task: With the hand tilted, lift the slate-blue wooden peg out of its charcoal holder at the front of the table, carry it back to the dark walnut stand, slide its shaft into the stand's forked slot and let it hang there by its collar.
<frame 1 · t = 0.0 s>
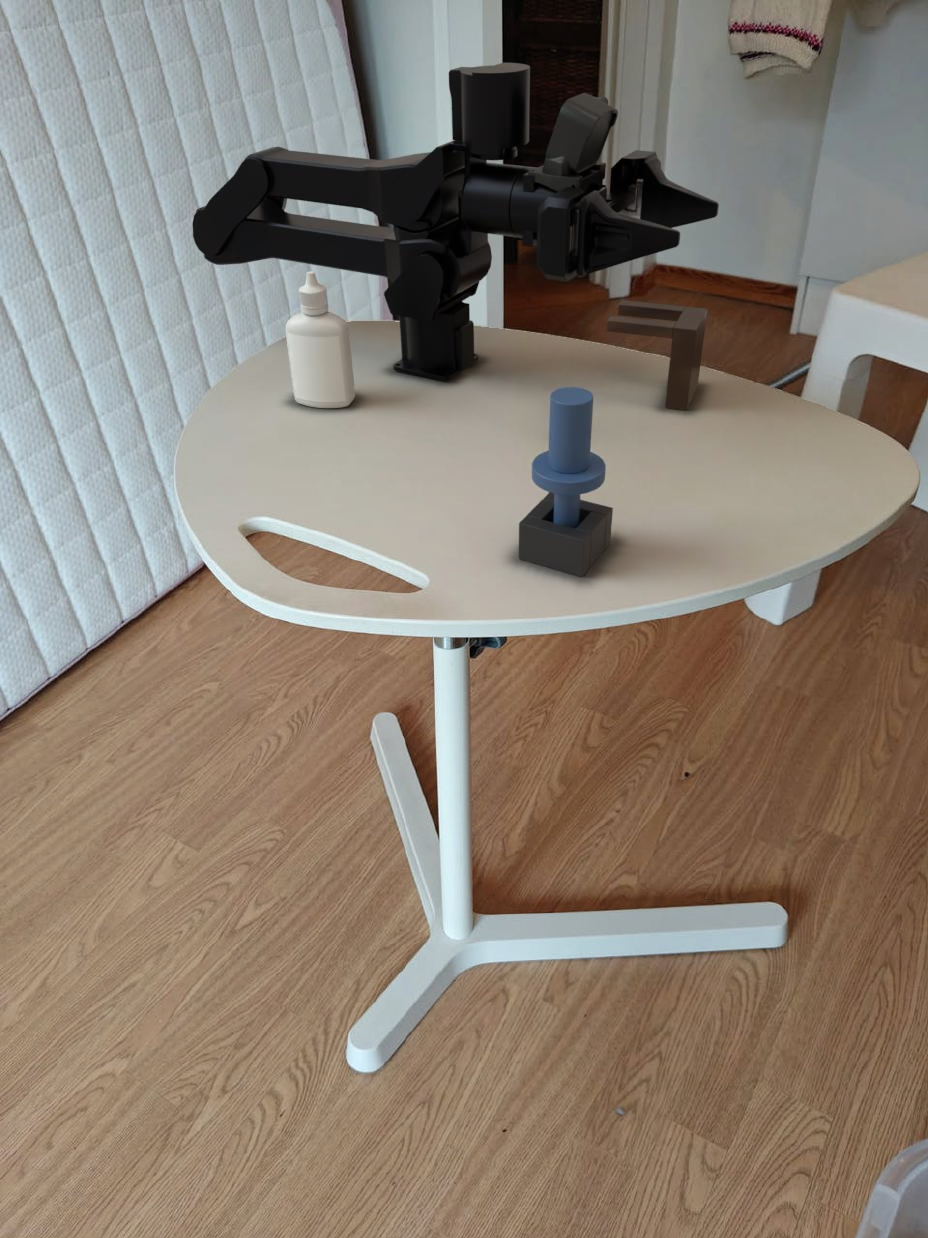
hand: (699, 223, 78), 17 cm above the table, tool horizontal, fingers open, 9 cm apart
peg: (568, 477, 67), in the holder
holder: (564, 550, 71), on the table
eye dropper bottle: (325, 402, 93), on the table
stand: (655, 393, 92), on the table
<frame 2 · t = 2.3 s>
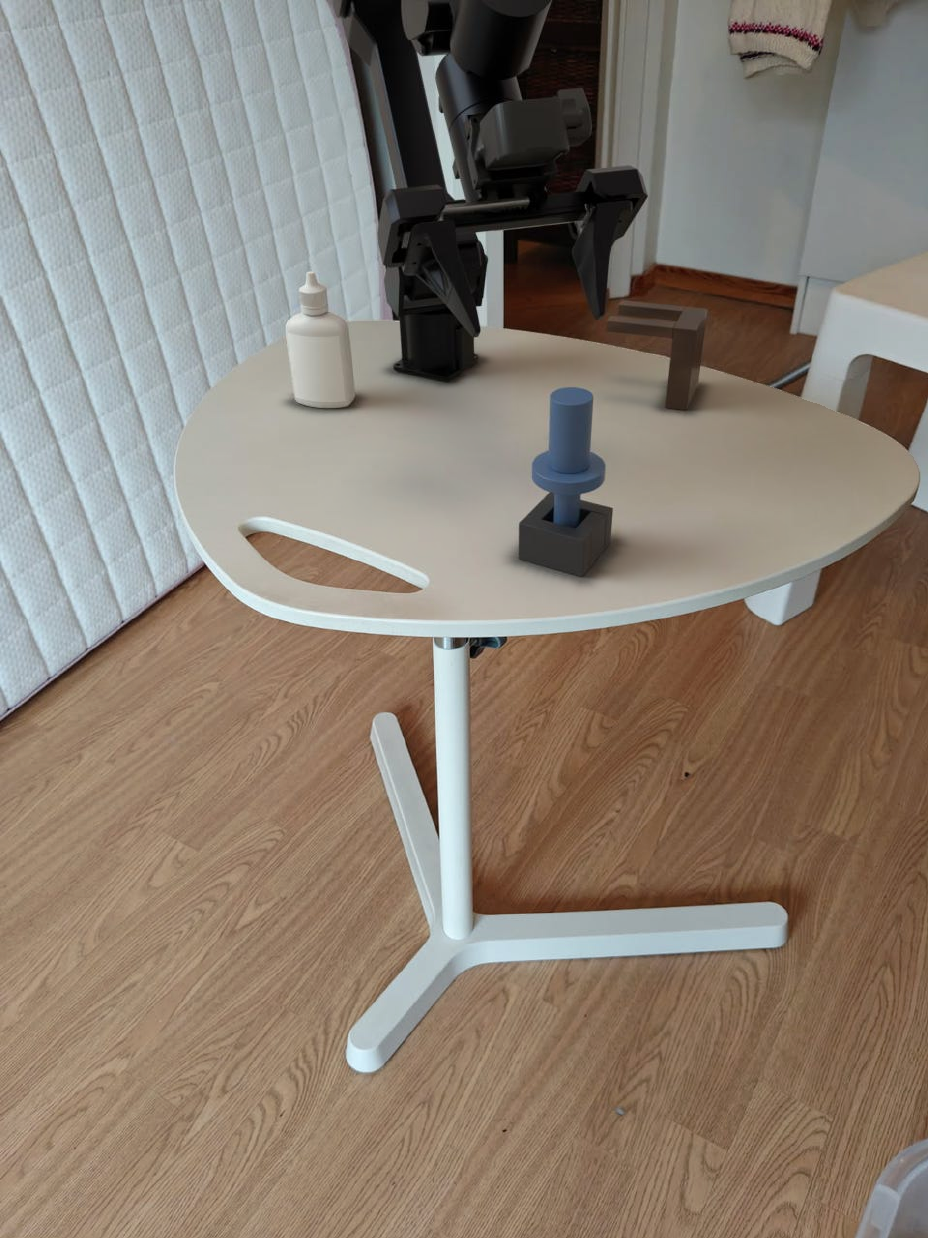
hand: (539, 326, 68), 14 cm above the table, tool tilted 45°, fingers open, 9 cm apart
nothing on the table moved.
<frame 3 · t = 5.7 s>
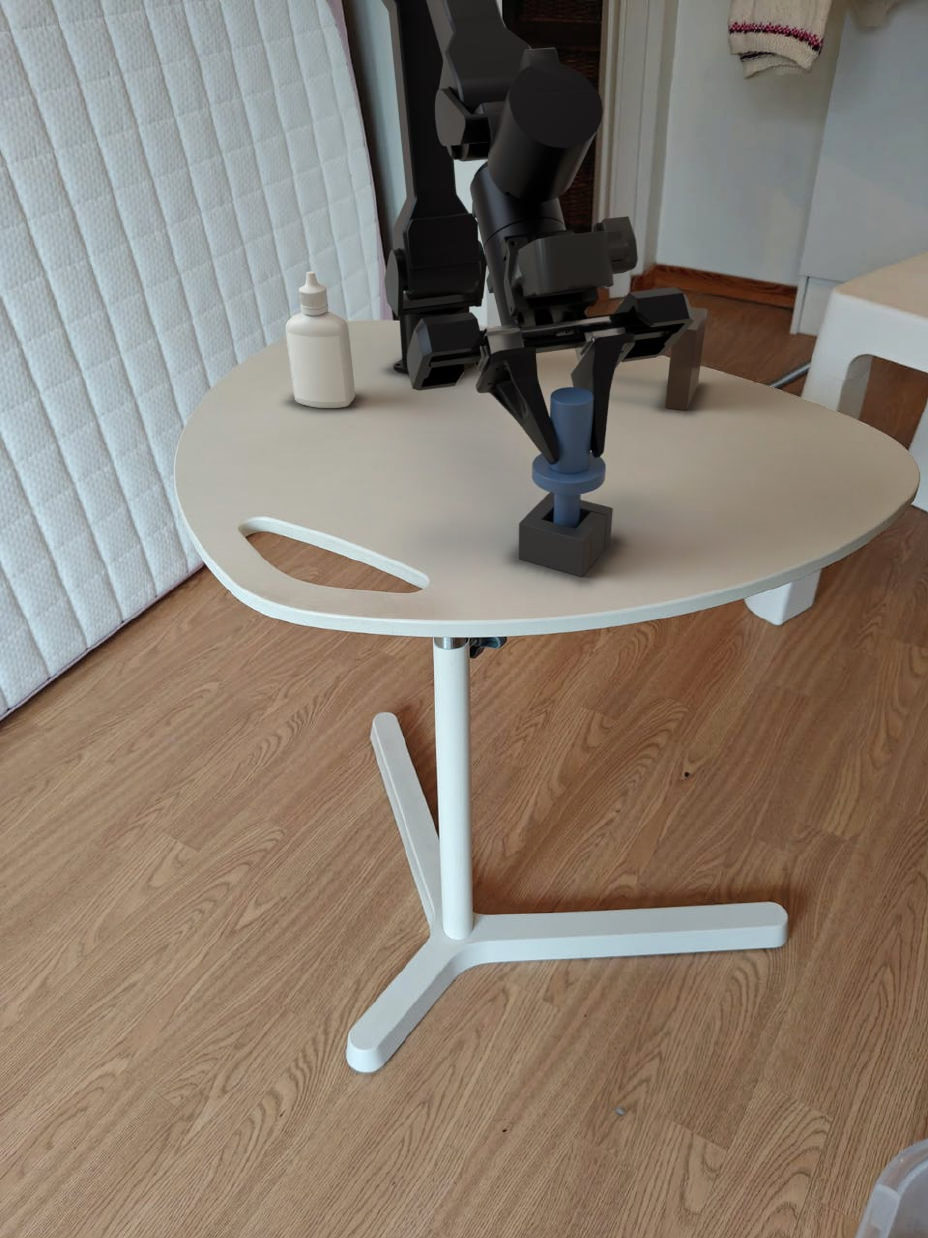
hand: (576, 459, 65), 8 cm above the table, tool tilted 45°, fingers closed on peg, 3 cm apart
peg: (568, 477, 67), in the holder, touching gripper
everything else where it was.
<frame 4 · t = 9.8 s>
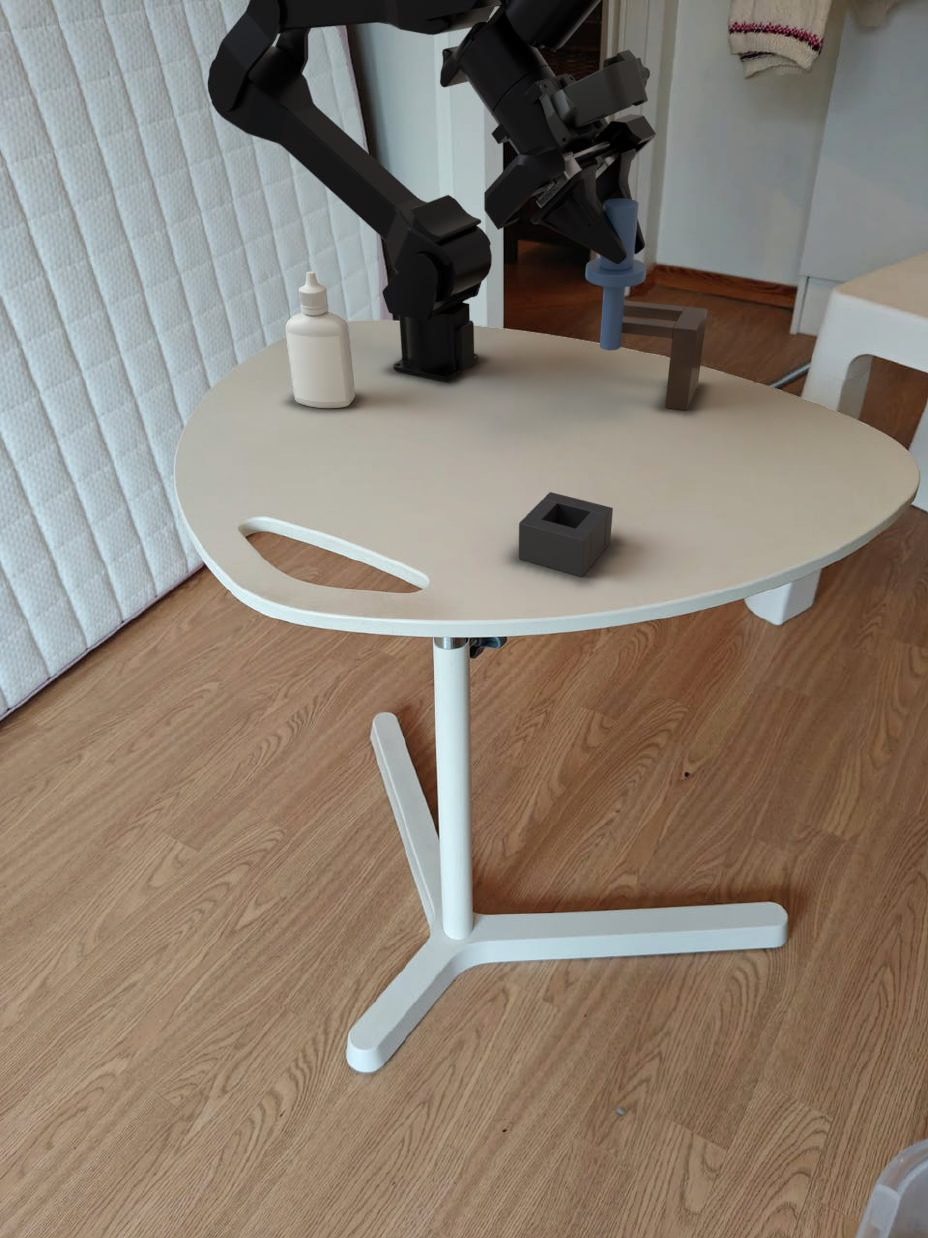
hand: (631, 255, 80), 14 cm above the table, tool tilted 45°, fingers closed on peg, 3 cm apart
peg: (615, 277, 82), point 12 cm above the table, touching gripper
everything else where it was.
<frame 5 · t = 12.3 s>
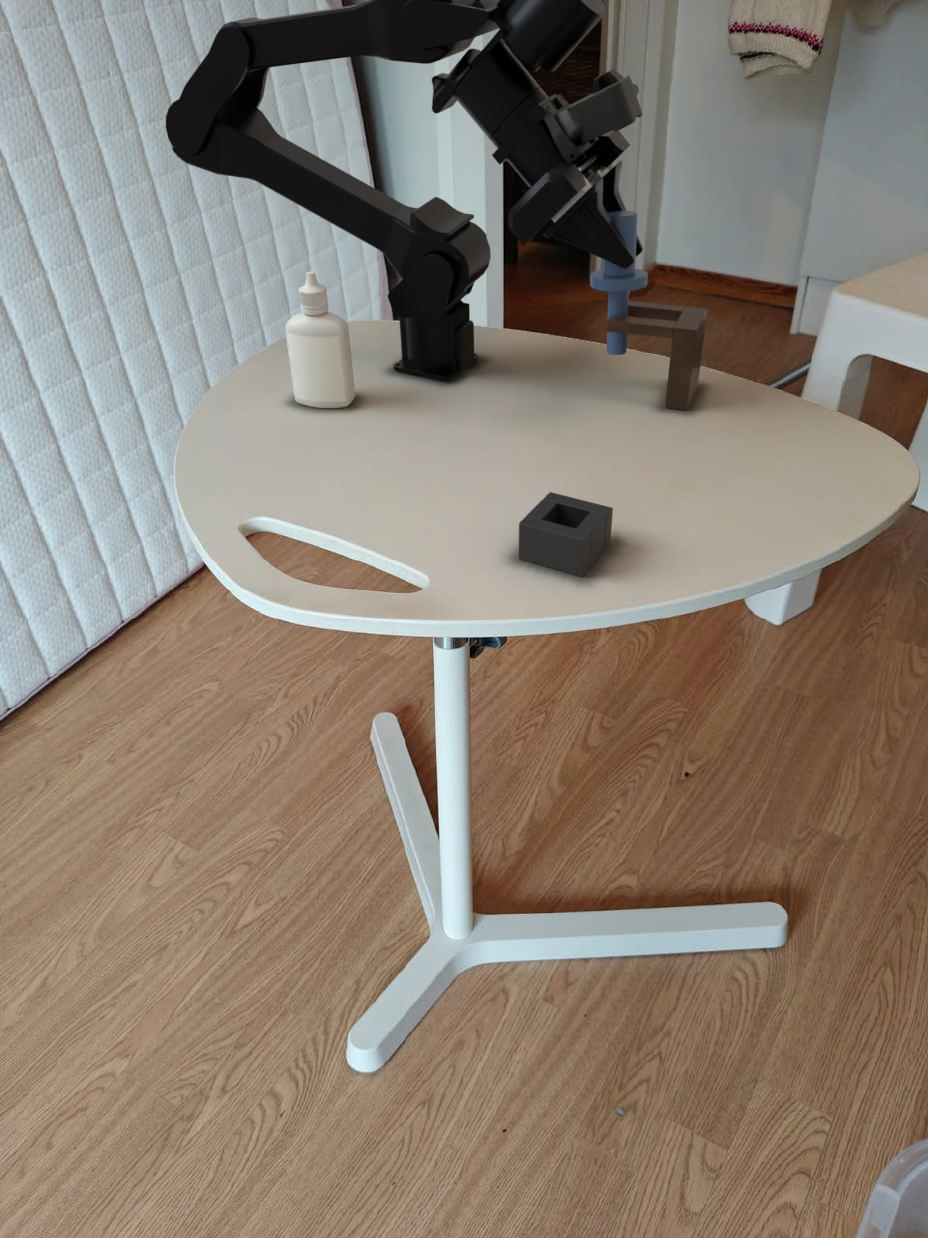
hand: (634, 259, 86), 12 cm above the table, tool tilted 45°, fingers closed on peg, 3 cm apart
peg: (618, 285, 87), point 10 cm above the table, tilted 6°, touching gripper
everything else where it was.
when the fingers open (10 cm above the table, at t = 14.4 s): peg stays where it is, resting on stand.
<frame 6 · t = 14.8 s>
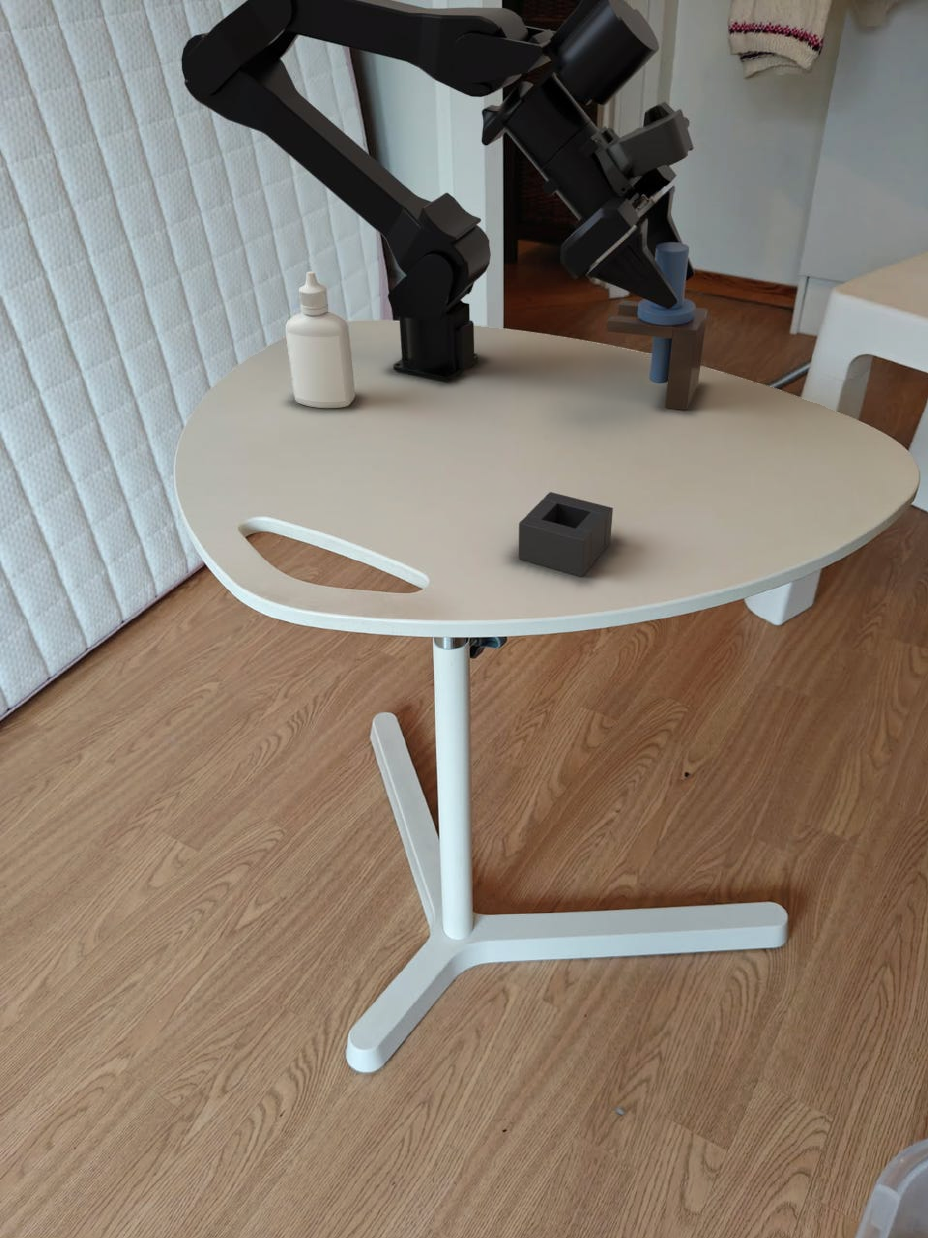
hand: (682, 290, 86), 10 cm above the table, tool tilted 45°, fingers open, 7 cm apart
peg: (665, 315, 87), point 8 cm above the table, touching stand
everything else where it was.
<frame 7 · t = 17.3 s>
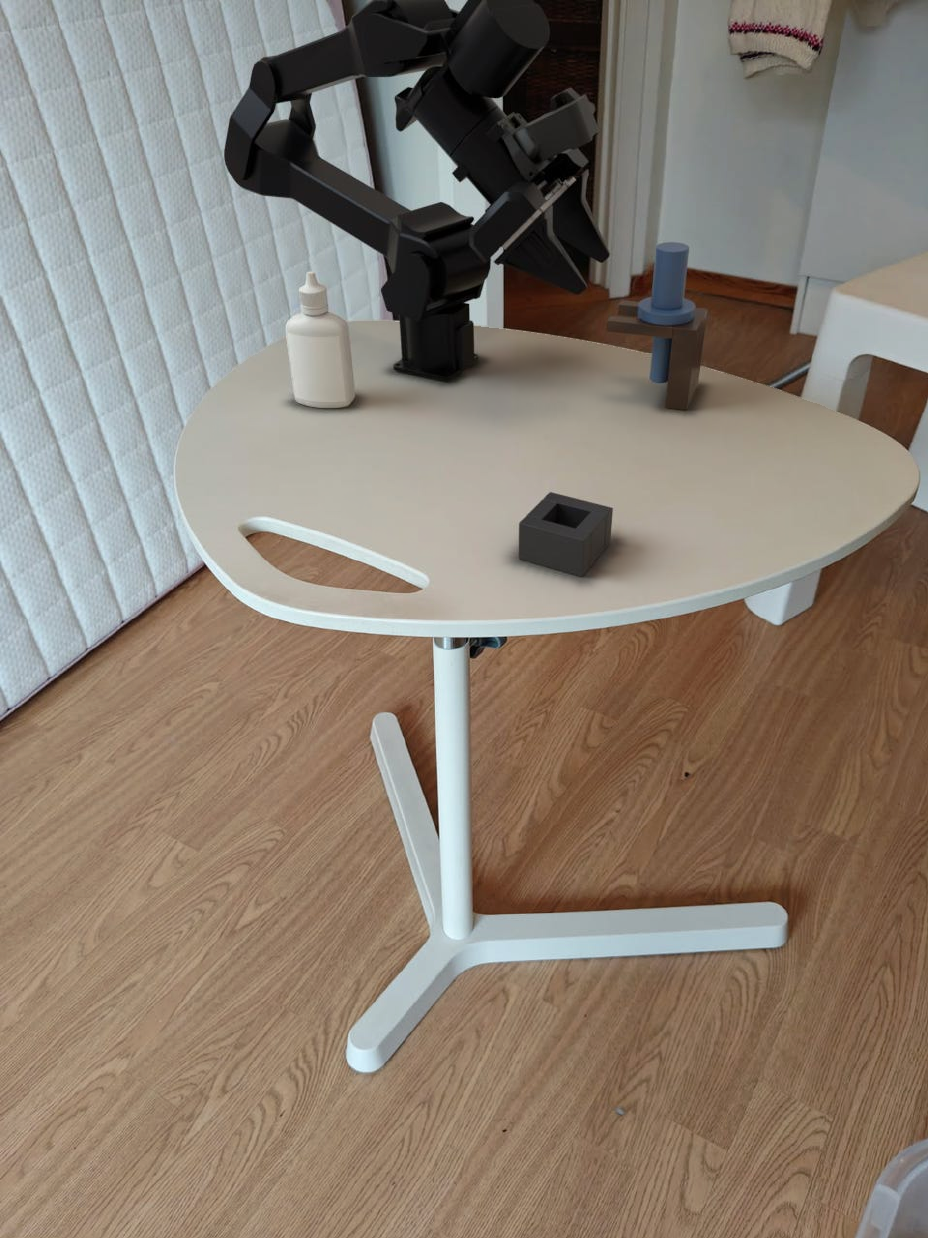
hand: (595, 274, 87), 11 cm above the table, tool tilted 45°, fingers open, 9 cm apart
nothing on the table moved.
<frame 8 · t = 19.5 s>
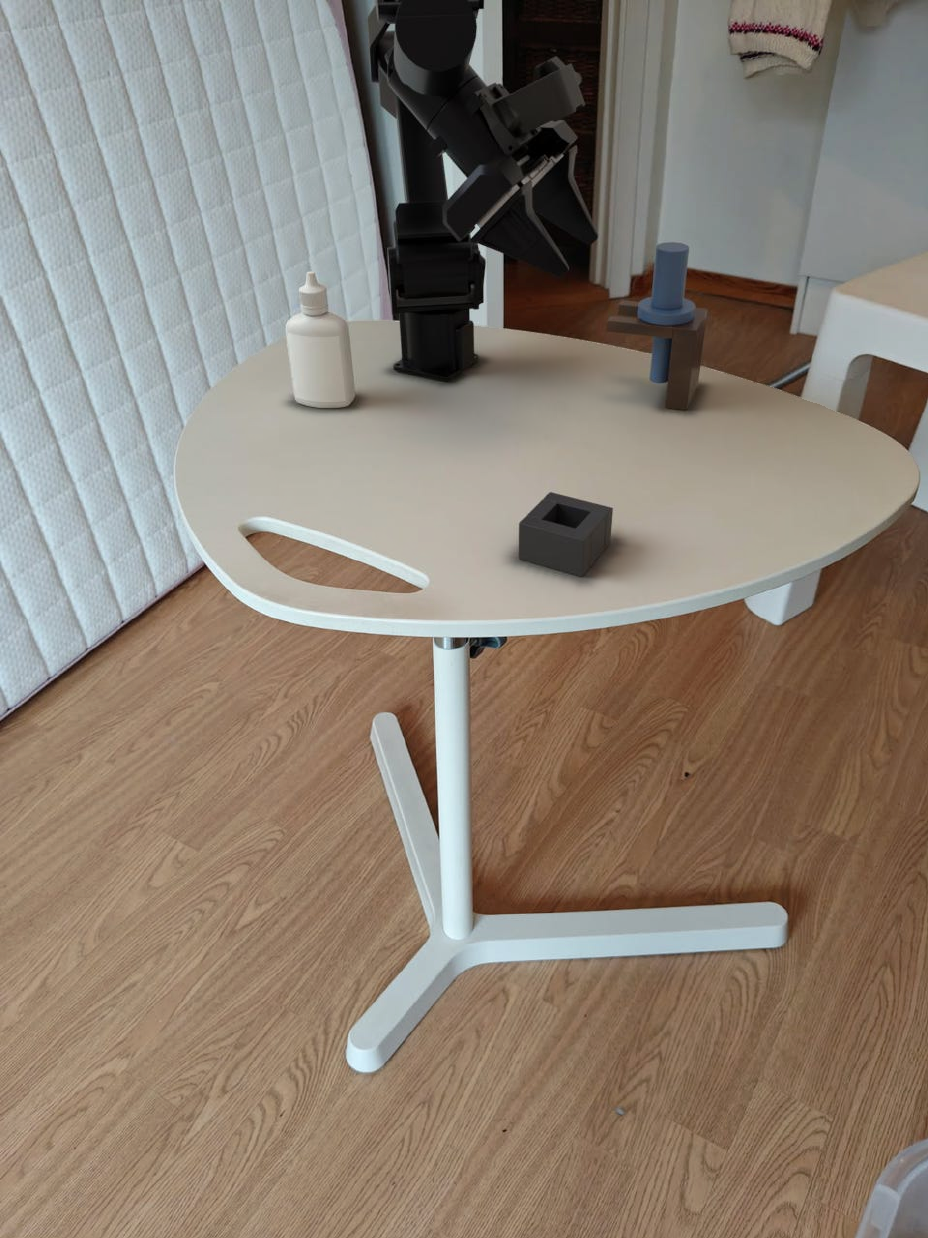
hand: (580, 256, 82), 14 cm above the table, tool tilted 45°, fingers open, 9 cm apart
nothing on the table moved.
at the end: peg 0.2 cm off-centre on the stand, point 7.5 cm above the stand's base; peg touching stand; peg tilted 0° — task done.
